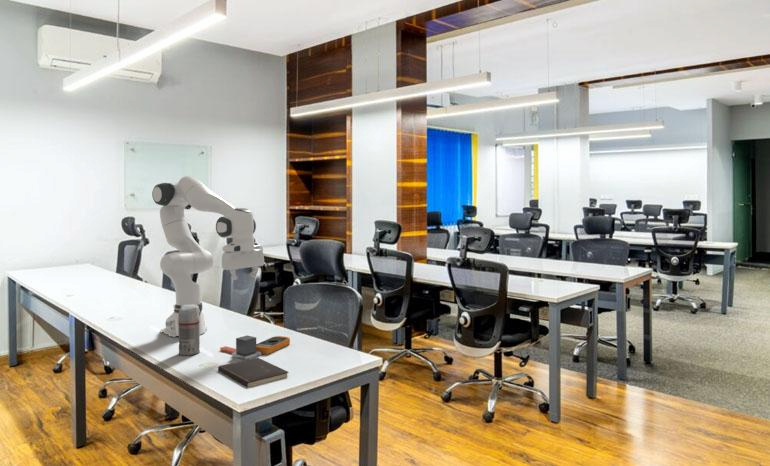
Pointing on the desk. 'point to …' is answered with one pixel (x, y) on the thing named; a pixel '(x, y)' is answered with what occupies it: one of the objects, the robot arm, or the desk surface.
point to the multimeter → (272, 344)
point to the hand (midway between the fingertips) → (244, 278)
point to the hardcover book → (252, 371)
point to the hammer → (240, 356)
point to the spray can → (189, 330)
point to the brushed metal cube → (246, 345)
